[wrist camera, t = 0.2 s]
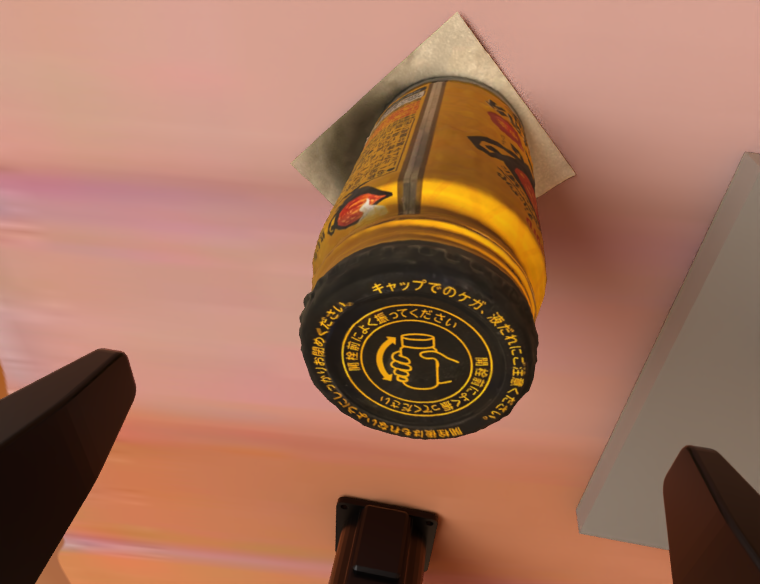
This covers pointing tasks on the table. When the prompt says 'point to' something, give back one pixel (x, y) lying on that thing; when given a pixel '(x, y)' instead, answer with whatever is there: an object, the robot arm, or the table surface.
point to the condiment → (429, 245)
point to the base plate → (691, 379)
